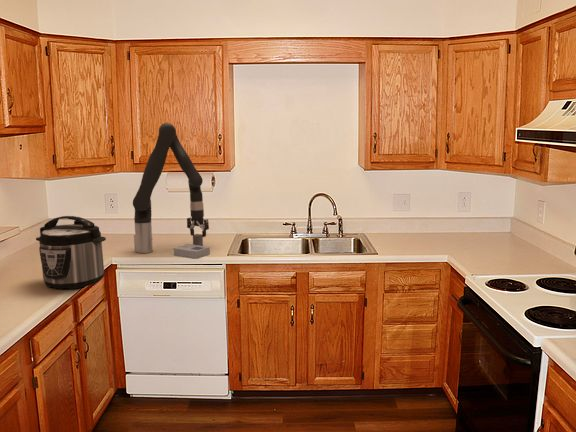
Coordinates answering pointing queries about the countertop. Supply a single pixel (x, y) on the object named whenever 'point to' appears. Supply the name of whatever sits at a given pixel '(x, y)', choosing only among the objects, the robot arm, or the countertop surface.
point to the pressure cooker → (71, 253)
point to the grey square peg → (198, 239)
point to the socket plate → (191, 251)
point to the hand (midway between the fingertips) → (198, 236)
